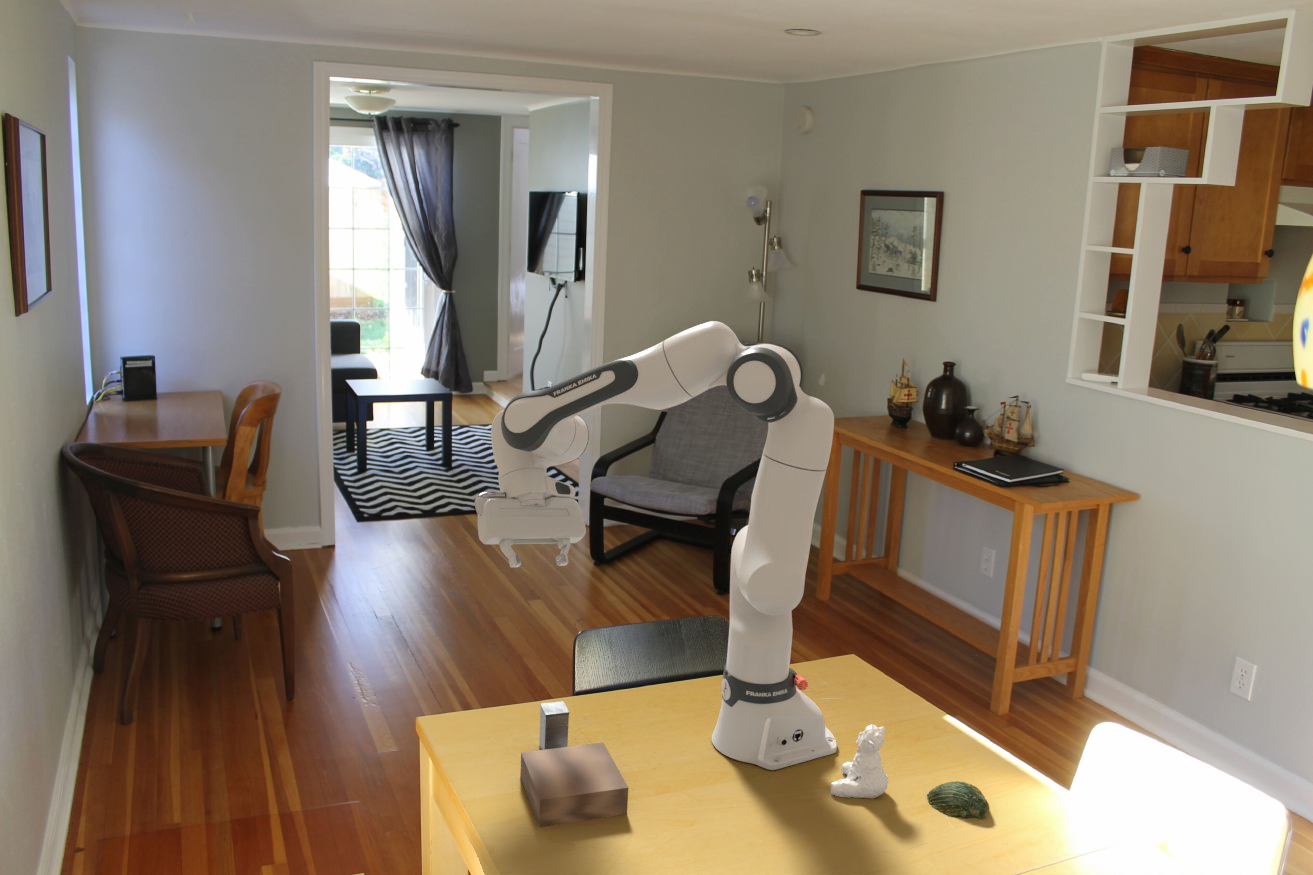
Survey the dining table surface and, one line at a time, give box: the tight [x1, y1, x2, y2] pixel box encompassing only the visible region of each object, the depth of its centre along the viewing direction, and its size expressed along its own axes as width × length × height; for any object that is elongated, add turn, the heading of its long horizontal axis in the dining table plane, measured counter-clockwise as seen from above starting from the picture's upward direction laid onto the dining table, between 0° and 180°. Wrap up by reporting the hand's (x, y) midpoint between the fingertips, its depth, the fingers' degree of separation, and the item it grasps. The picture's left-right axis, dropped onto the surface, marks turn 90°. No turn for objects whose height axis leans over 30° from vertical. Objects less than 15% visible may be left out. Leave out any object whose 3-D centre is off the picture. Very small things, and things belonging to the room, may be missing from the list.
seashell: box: [926, 780, 989, 820], centre depth 166 cm, size 10×4×10 cm
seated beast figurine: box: [830, 723, 889, 799], centre depth 167 cm, size 10×9×12 cm
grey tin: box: [538, 700, 570, 750], centre depth 174 cm, size 4×4×8 cm
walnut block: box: [519, 742, 629, 828], centre depth 161 cm, size 14×14×5 cm
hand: (539, 565), depth 176 cm, fingers open, 8 cm apart
